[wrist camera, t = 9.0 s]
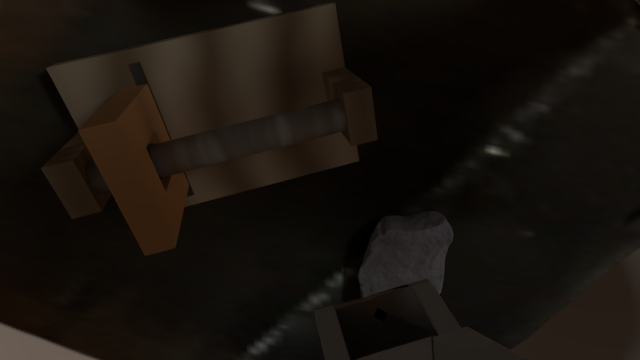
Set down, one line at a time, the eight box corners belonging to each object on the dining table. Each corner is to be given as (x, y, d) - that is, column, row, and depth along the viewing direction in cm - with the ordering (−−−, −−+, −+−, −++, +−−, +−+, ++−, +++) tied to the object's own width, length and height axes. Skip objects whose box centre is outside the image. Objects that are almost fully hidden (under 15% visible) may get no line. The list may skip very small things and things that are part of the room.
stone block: (352, 285, 48) (430, 287, 49) (355, 313, 44) (441, 315, 44) (359, 203, 43) (446, 206, 44) (363, 225, 39) (460, 228, 39)
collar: (147, 83, 29) (115, 121, 21) (189, 185, 33) (175, 247, 25) (120, 89, 28) (77, 130, 21) (166, 191, 33) (145, 256, 25)
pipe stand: (331, 2, 31) (361, 8, 24) (354, 154, 38) (384, 196, 30) (54, 64, 29) (-7, 91, 22) (131, 213, 36) (105, 273, 28)
